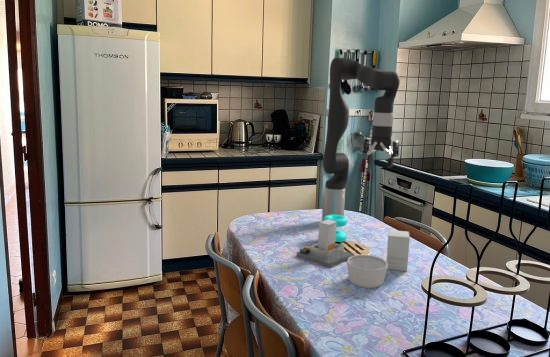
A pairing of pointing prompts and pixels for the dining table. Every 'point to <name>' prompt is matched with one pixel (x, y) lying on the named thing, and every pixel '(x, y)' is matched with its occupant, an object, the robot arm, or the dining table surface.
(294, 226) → the dining table surface
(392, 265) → the supplement box
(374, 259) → the ramekin
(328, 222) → the skincare box
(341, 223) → the donuts
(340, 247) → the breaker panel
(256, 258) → the dining table surface
